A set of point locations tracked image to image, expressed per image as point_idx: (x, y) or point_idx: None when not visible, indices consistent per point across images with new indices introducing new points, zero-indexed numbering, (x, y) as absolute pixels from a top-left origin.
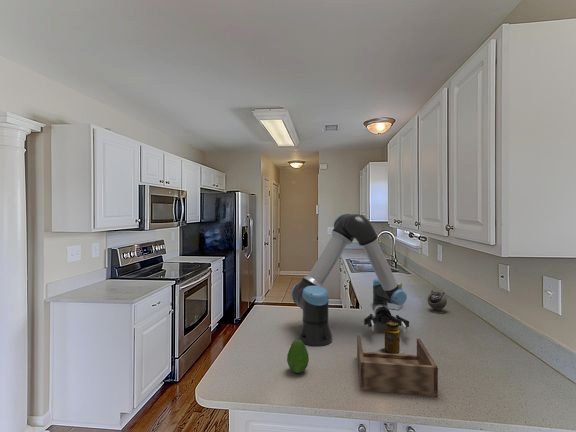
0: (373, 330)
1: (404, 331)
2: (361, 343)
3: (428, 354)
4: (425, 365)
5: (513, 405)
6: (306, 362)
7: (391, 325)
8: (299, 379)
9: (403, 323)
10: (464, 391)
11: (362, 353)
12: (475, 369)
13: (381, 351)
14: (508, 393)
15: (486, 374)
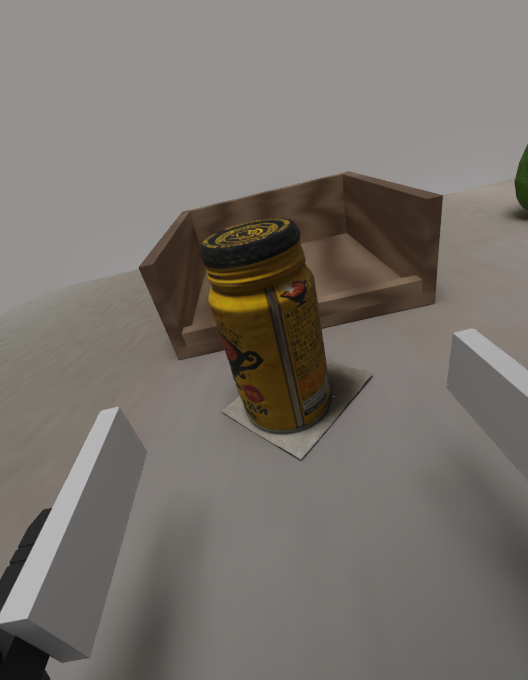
0: (452, 381)
1: (138, 443)
2: (384, 186)
3: (173, 226)
4: (205, 207)
5: (77, 299)
6: (515, 180)
7: (257, 221)
8: (506, 209)
9: (59, 509)
10: (137, 297)
11: (357, 177)
12: (8, 382)
13: (344, 376)
14: (46, 321)
15: (6, 368)
